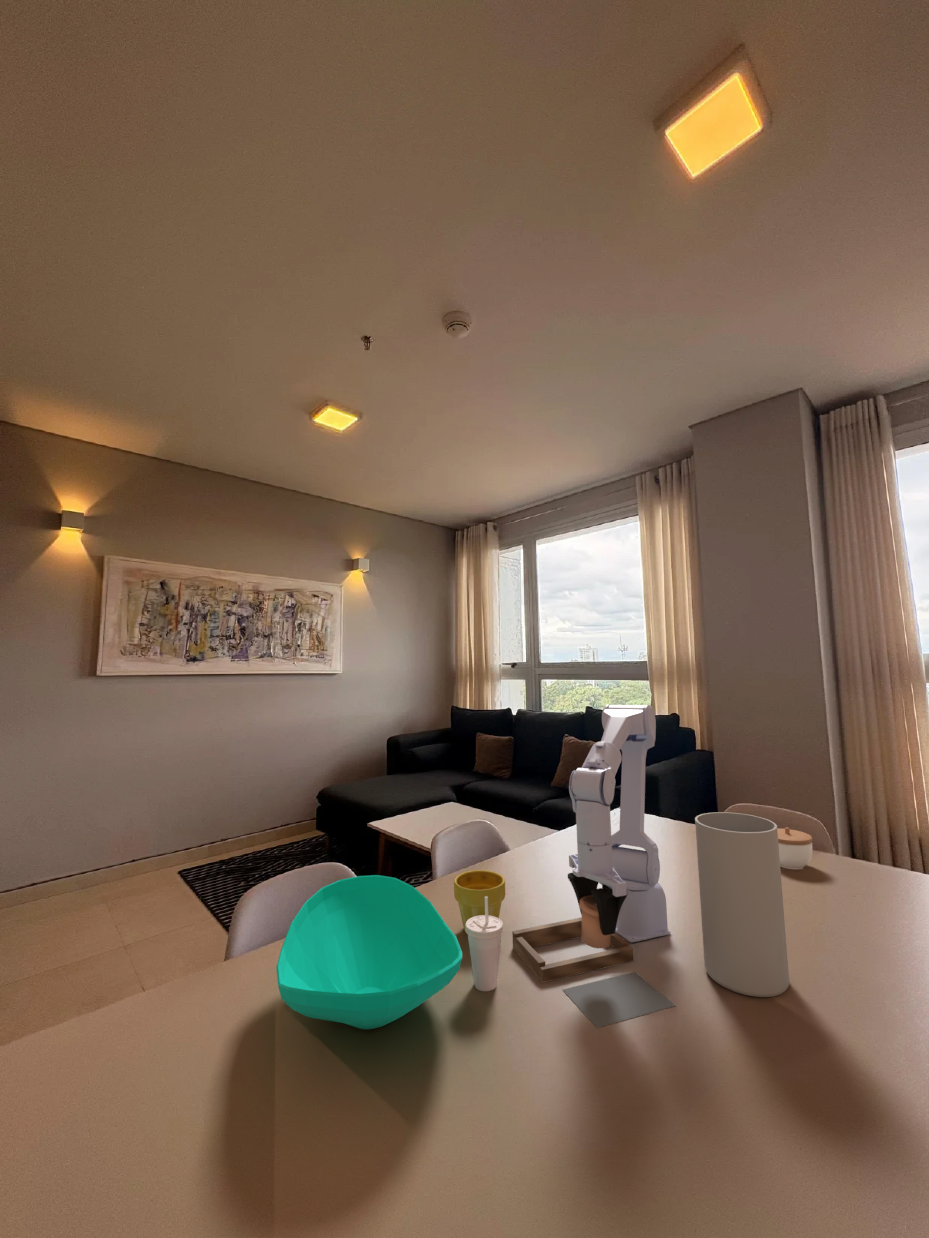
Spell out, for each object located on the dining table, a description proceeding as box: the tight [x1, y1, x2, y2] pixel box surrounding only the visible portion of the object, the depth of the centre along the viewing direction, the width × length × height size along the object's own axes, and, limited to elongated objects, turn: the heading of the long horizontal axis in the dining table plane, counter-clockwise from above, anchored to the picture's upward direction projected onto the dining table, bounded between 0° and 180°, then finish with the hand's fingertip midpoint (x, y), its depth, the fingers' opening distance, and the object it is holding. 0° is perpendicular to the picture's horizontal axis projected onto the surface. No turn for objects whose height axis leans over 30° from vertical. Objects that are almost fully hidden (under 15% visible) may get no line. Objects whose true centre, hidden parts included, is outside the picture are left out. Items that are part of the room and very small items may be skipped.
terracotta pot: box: [579, 895, 611, 949], centre depth 90 cm, size 6×6×6 cm
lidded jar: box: [777, 826, 813, 871], centre depth 138 cm, size 11×11×9 cm
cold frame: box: [511, 916, 635, 983], centre depth 98 cm, size 18×12×3 cm, turn 109°
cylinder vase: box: [694, 811, 790, 998], centre depth 90 cm, size 12×12×25 cm
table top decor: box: [275, 874, 463, 1030], centre depth 83 cm, size 40×28×13 cm
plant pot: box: [453, 869, 506, 933], centre depth 108 cm, size 10×10×10 cm
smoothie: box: [464, 896, 504, 992], centre depth 89 cm, size 6×6×14 cm
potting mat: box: [562, 971, 677, 1029], centre depth 84 cm, size 14×10×1 cm
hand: (598, 925), depth 89 cm, fingers closed on terracotta pot, 5 cm apart
